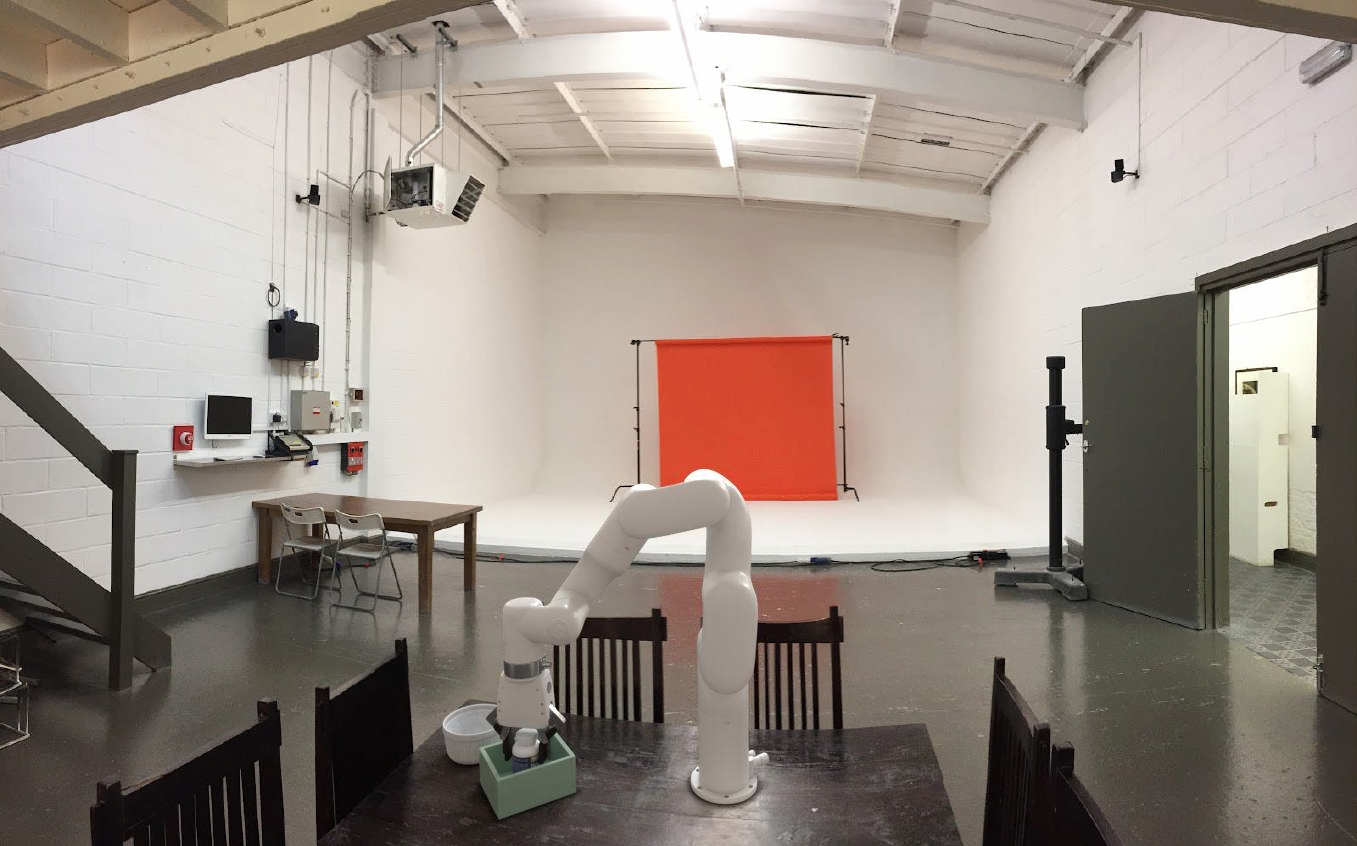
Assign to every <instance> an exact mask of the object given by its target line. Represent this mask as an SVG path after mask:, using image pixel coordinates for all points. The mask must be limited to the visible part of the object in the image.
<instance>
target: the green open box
mask: <svg viewBox="0 0 1357 846" xmlns="http://www.w3.org/2000/svg"><path fill="white" fill-rule="evenodd" d="M551 727H552V726H550V728H551ZM514 739H515V743H516V736H514ZM537 740H539V741H541V739H540V736H539V734H538V732H537ZM576 759H577V758H576V755H575V753H574V752H573V751H572V750H571V749H570V747H569V746H568V745H567V744H566V742H565V741H564V740H563V738H562V737H561V736H560V734H559V733H558V731H557V732H556V734H555V735H554V736H553V737H552V738H551V739H550V755H549V757H547V759H546V760H545V762H544V763H543V764H542V765H539V766H536V767H533V768H530V769H527V770H523V771H520V772H517V773H514V774H513V761H512V757H511V759H510V760H509V761H505V754H503V741H501V742H498V743H494V744H491V745H487V746H484V747H480V748H479V761H480V763H479V783H480V785H481V788H482V790H483V791H484V794H485V795H486V797H487V799H488V802H489V804H490V806H491V808H492V809H493V812H494V813H495V815H496V817H497V820H502V819H505V818H508V817H510V816H513V815H517V814H519V813H522V812H524V811H527V810H530V809H533V808H536V807H539V806H541V805H544V804H547V803H550V802H552V801H556V800H558V799H562V798H564V797H567V796H570V795H573V794H576V793H577V764H576V763H577V762H576Z"/></svg>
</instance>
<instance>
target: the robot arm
mask: <svg viewBox="0 0 1357 846" xmlns="http://www.w3.org/2000/svg"><path fill="white" fill-rule="evenodd" d="M752 527H753V526H752V519H751V514H750V511H749V508H748V504H747V503H746V501H745V498H744V497H743V495H742V494H741V492H740V491H739V490H738V488H737V486H736V485H734V483H732V482H731V481H730V480H729V479H728V478H726V477H725V476H723V475H722V474H720V473H718V472H717V471H714V470H711V469H707V468H706V469H705V468H703V469H702V468H701V469H696V470H695V471H692V472H691V473H690V474H689V475H688V476H686V478H685V479H684V481H683V482H679V483H675V484H669V485H666V486H661V487H655V486H653V485H651V484H647V483H637V484H635V485H633V486H631V487H630V488H628V489H627V490H626V492H624V493H623V495H622V497H621V498H620V499H619V501H618V502H617V503H616V505H615V507H614V508H613V509H612V511H611V512H610V513H609V515H608V516H607V518H606V519H605V521H604V522H603V524H602V525H601V526H600V527H599V529H598V531H597V532H596V534H595V535H594V536H593V538H592V539H591V540H590V542H588V545H587V546H586V548H585V549H584V552H583V554H582V555H581V557H580V559H579V560H578V562H577V563H576V565H574V567H573V569H572V570H571V572H570V573H569V575H568V576H567V577H566V579H565V580H564V582H563V583H562V584H561V586H560V587H559V589H558V590H557V592H555V594H554V596H553V597H552V599H551V600H550V602H549V603H548V604H547V605H544V604H543V602H542V601H541V600H540V599H538V598H537V597H532V596H531V597H530V596H523V597H522V596H521V597H516V598H513V599H510V600H508V601H507V602H506V603H504V605H503V607H502V612H501V613H502V615H501V617H502V618H501V619H502V621H501V622H502V649H503V650H502V651H503V653H502V654H503V655H502V656H503V670H502V671H501V673H500V677H499V683H498V689H497V700H496V705H497V706H496V707H495V708H494V709H493V710H492V711H491V712H490V713H489V714H488V716H487V717H486V720H487V721H488V722H489V724H490V725H491V726H493V729H494V730H495V731H496V732H497V733H498V734H499V735H500V739H501V740H502V741H503V754H505V761H509V760H510V759H511V757H512V748H513V746H514V744H515V739H514V738H515V733H514V732H513V729H514V728H515V729H516V728H517V729H523V728H530V729H536V730H537V732H538V734H539V736H540V739H541V741H540V743H539V763H540V764H543V763H544V762H545V760H546V759H547V757H549V755H550V739H551V738H552V737H553V736H554V735H555V734H556V732H557V733H558V732H559V731H560V730H561V729H562V728H563V727H564V726H565V725H566V723H567V719H566V718H565V717H564V716H563V714H562V713H560V712H559V710H557V708H556V702H555V701H556V700H555V693H554V685H553V679H552V675H551V672H550V669H552V667H553V661H552V660H549V659H547V655H546V654H545V652H546V651H545V645H551V646H560V647H561V646H567V645H568V646H569V645H570V644H573V643H574V642H575V641H576V640H577V639H578V638H579V636H580V634H581V632H582V630H583V627H584V624H585V621H586V619H587V617H588V615H589V613H590V611H591V610H592V608H593V607H594V606H595V604H596V603H597V601H598V600H599V598H600V597H601V595H602V594H603V593H604V591H605V590H606V589H607V587H608V586H609V585H610V584H611V583H612V582H613V581H614V580H615V579H617V578H618V577H621V576H623V574H624V573H625V572H627V570H629V567H630V566H631V564H632V563H633V562H634V561H635V559H636V557H637V556H638V555H639V553H640V552H641V550H642V548H644V546H645V544H646V543H647V542H648V540H650V539H657V538H662V537H667V536H672V535H676V534H681V533H686V532H690V531H694V530H700V529H703V528H705V531H706V532H705V533H706V534H705V536H706V537H705V560H704V571H703V580H702V584H701V585H702V587H701V599H702V601H701V602H702V623H701V628H700V630H699V632H698V634H697V638H696V662H697V663H696V667H697V668H696V669H697V715H698V716H697V728H698V729H697V732H698V737H697V739H698V765H697V766H696V768H694V770H692V772H691V775H690V786H691V787H690V788H691V789H692V791H693V792H694V793H695V794H696V796H698V797H699V798H701V799H702V800H704V801H706V802H709V803H712V804H719V805H734V804H738V803H741V802H744V801H747V800H748V799H750V798H751V797H752V796H753V795H754V794H755V793H756V792H757V790H758V789H757V788H758V777H757V775H756V773H755V771H756V770H757V769H758V767H761V766H764V765H767V764H769V763H770V756H769V754H768V753H767V752H762V753H759V754H757V755H756V752H755V750H754V749H751V750H750V740H749V739H750V734H749V732H750V731H749V730H750V729H749V728H750V727H749V726H750V723H749V722H750V720H749V714H750V713H749V705H750V704H749V703H750V702H749V701H750V700H749V699H750V698H749V693H750V691H749V682H751V679H752V677H753V674H754V670H755V663H756V650H757V638H758V637H757V636H758V624H759V623H758V621H759V604H758V597H757V594H756V591H755V588H754V586H753V582H752V576H751V575H752V573H751V572H752V548H753V547H752V545H753V544H752V542H753V541H752V540H753V529H752ZM550 720H552V721H553V722H554V724H553V725H552V726H551V725H550V723H549V721H550ZM550 727H551V728H550Z"/></svg>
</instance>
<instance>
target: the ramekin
mask: <svg viewBox="0 0 1357 846" xmlns="http://www.w3.org/2000/svg"><path fill="white" fill-rule="evenodd" d="M496 706H497V704H493V703H477V704H476V703H475V704H470V705H466V706H463V707H461V708H458V709H456V710H453V711H452V712H450V713H449V714H448V715H447V716H446V717H445V718H444V719H443V721H442V727H441V728H442V730H441V731H442V734H443V738H444V744H445V749H446V754H447V756H448V757H449V758H450V759H451V761H453V762H455V763H457V764H459V765H465V766H466V765H467V766H468V765H477V764H480V761H479V748H480V747H484V746H487V745H491V744H494V743H498V742H501V741H502V740H501V739H500V735H499V734H498V733H497V732H496V731H495V730H494V729H493V726H491V725H490V724H489V722H488V721H487V720H486V717H487V716H488V714H489V713H490V712H491V711H492V710H493V709H494V708H495V707H496Z"/></svg>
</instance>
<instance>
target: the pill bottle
mask: <svg viewBox="0 0 1357 846" xmlns="http://www.w3.org/2000/svg"><path fill="white" fill-rule="evenodd" d="M515 737H516V743H515V744H514V746H513V748H512V761H513V774H514V773H517V772H520V771H523V770H527V769H530V768H533V767H536V766H539V765H542V764H540V763H539V743H540V741H539V740H537V729H530V728H519V729H518V730H517V731H516V732H515Z"/></svg>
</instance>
